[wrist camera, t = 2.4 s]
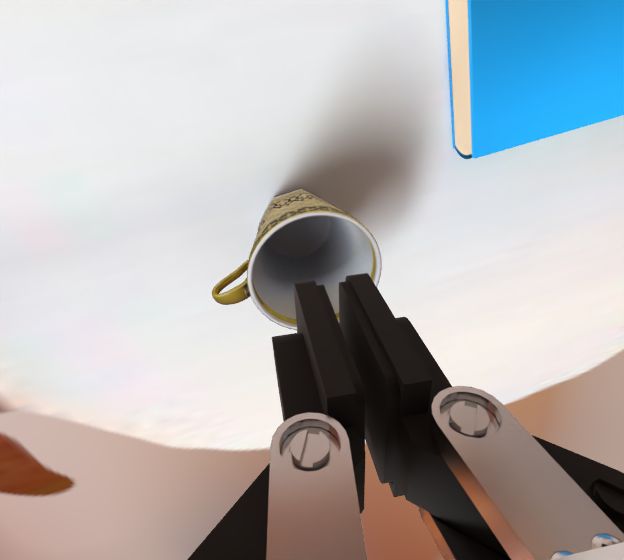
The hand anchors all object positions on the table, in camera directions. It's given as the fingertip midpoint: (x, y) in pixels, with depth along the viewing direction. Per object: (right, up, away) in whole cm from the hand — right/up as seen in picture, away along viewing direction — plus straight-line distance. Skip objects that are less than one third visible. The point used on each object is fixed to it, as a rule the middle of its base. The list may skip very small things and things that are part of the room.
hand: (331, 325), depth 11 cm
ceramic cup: (-3, +6, +28) cm, 29 cm away
